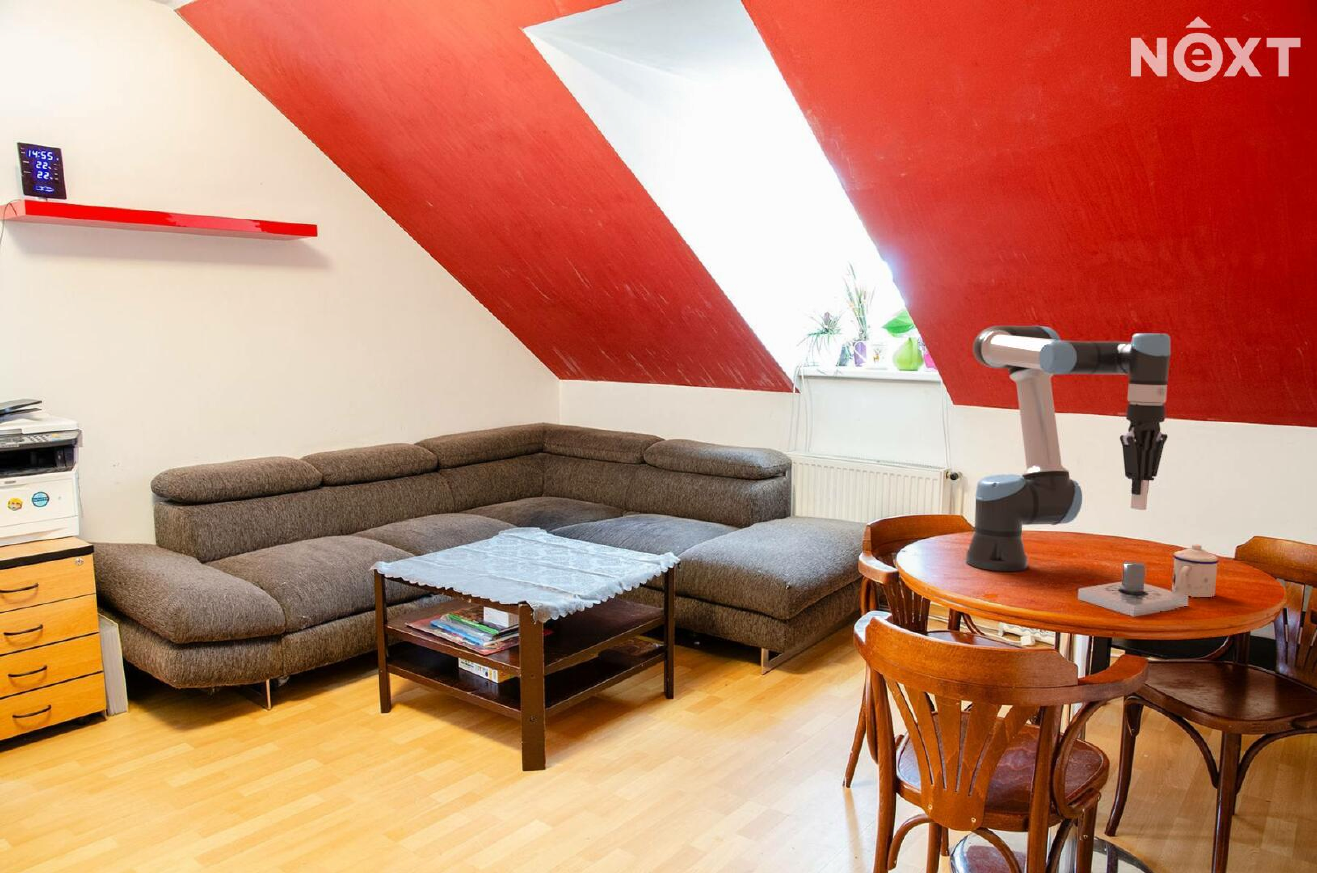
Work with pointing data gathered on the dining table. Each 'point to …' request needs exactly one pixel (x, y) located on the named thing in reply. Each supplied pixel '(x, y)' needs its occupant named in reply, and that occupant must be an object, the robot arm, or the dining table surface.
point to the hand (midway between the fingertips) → (1138, 508)
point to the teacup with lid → (1194, 572)
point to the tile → (1132, 599)
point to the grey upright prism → (1133, 578)
